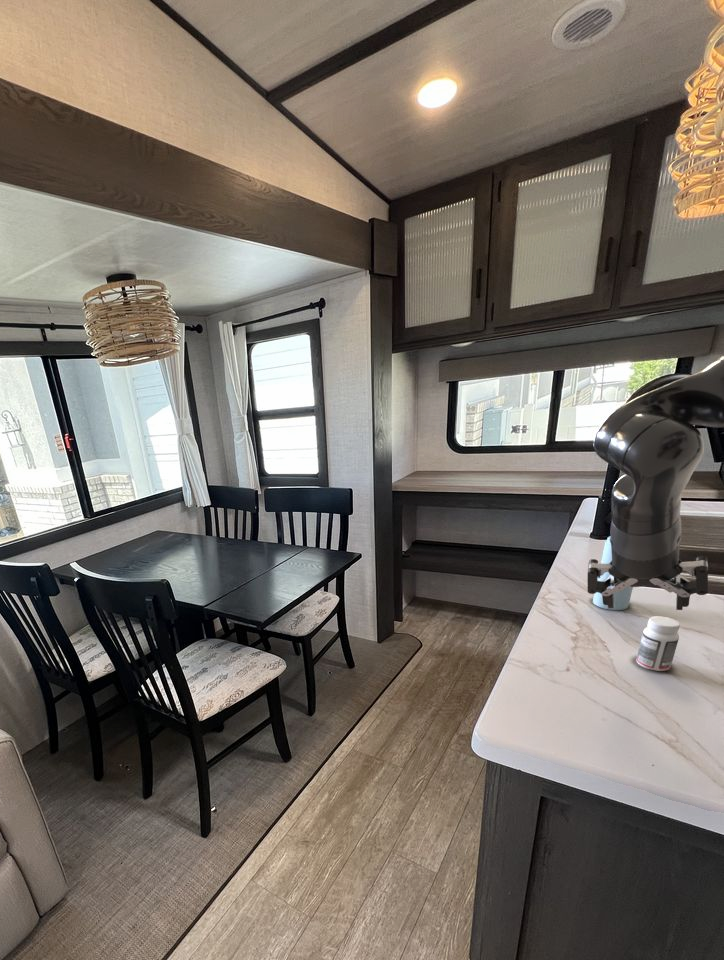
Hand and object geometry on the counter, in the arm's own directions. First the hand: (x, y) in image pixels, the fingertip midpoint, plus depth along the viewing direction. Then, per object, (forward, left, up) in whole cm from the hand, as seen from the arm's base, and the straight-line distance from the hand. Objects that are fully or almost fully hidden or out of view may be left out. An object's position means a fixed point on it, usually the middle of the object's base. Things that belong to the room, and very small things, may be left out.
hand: (643, 604), depth 74 cm
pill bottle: (-4, -4, -13) cm, 14 cm away
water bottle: (+2, -29, -13) cm, 31 cm away
